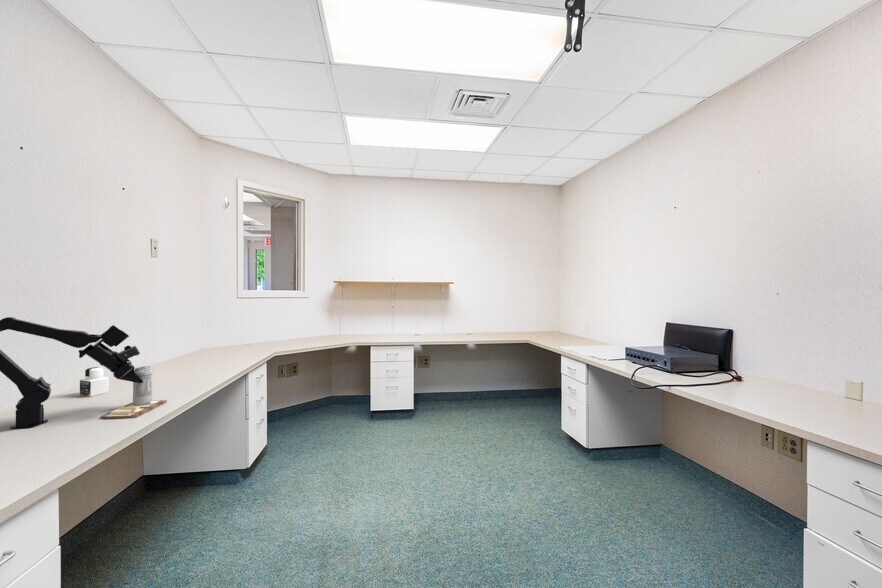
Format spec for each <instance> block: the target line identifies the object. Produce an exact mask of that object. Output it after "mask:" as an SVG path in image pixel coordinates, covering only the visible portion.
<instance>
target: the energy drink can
mask: <svg viewBox="0 0 882 588" xmlns="http://www.w3.org/2000/svg"><path fill="white" fill-rule="evenodd" d="M134 372H135V373H136V374H137V375H138V376H139V377H140V378H141V379H142V380H143V382H142V383H136V382H132V402H133V403H134V404H135V406H142V405H147V404H150V402H151V401H152V400H153V369H152V368H151V366H150V365H142V366H136V367H135V368H134Z"/></svg>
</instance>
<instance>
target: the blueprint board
mask: <svg viewBox="0 0 882 588" xmlns="http://www.w3.org/2000/svg"><path fill="white" fill-rule="evenodd" d="M166 402H167V403H168V400H167V399H160V400H159V399H156V400H155V399H152V401H151V402H150V404H147V405H142V406H135V404H134V403H133V401H132V402H129V403H127V404H125V405H123V406H121V407H117V408H116V409H113V410H112V411H109V412H107V413H105V414H102V415H100V417H99V418H100V420H104V419H103V418H112V419H121V418H120V417H137V418H139V417H141V416H142V414H143V415H145V414H146V412H147V413H149V412H151V411H153V410H155V409H157V408H158V406H159V407H160V405H161V406H162V404H163V405H165V404H166ZM164 403H165V404H164ZM156 407H157V408H156ZM154 408H155V409H154ZM152 409H153V410H152ZM150 410H151V411H150ZM148 411H149V412H148ZM144 413H145V414H144ZM140 415H141V416H140ZM138 416H139V417H138Z"/></svg>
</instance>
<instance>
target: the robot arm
mask: <svg viewBox="0 0 882 588" xmlns="http://www.w3.org/2000/svg"><path fill="white" fill-rule="evenodd" d="M6 330H10V331H15V332H19V333H23V334H28V335H33V336H37V337H41V338H42V337H43V338H45V339H46V338H47V339H50V340H55V341H58V342H60V343H62V344H63V345H64V344H65V345H67V346H70V347H73V348H76V349H79V350H78V353H79V355H78V357H79V359H81V358H83V357H84V356H87V357H90V358H91V359H92V360H93V361H95V362H97V363H98V364H99V365H100V366H102V367H105V368H106V369H107V370H109V372H111V373H113V377H114V378H116V379H117V380H120V381H121V380H122V381H127V382H132V383H133V382H136V383H142V382H143V380H142V379H141V378H140V377H139V376H138V375H137V374H136V373H135V372H134V370H135V368H136V367H135V365H133V363H132V362H131V360H130V358H133V357H135V356H138V355H140V354H141V353H140V351H139V349H138V348H137V346H135V345H133V346H130V345H126V346H124V347H123V348H124V350H121V351H120V352H117V351H116V350H115V351H114V350H112V349H111V348H112V347H118V346H119V345H120V344H121V343H123V342H124V341H125V340H127V338H130V335H129V334H128V333H126V332H125V331H123V330H122V329H120V328H119V327H117V326H116V325H114V324H111V326H109V328H108V329H107V330H105V331H103V332H102V333H101V334H97V333H96V334H90V333H88V332H87V331H83V330H75V329H63V328H56V327H53V326H48V325H43V324H40V323H35V322H30V321H26V320H22V319H18V318H16V317H11V316H7V317H4V318H2V319H0V333H2V332H3V331H6ZM92 343H94V344H92ZM103 343H104V344H103ZM106 345H107V346H106ZM108 346H109V347H108ZM82 348H84V349H82ZM0 372H1V373H2V374H3V375H4V376H5V377H6V378H7V379H8V380H10V381H11V382H12V383H13V384H15V386H16V387H17V389H18V391H19V393H20V394H21V396H22V397H21V398H20V399H19V400H18V401H17V403H16V405H15V408H16V409H15V425H12V426H10V429H30V428H34V427H36V426H39V425H42V424H45V423H47V422H49V420H48V419H45V417H44V416H45V412H44V411H45V409H44V404H42V403H44V402H46V401H47V400H48V399H49V397H50V395H51V392H52V389H51V384H50V383H48V382H47V381H45V379H44V378H43V376H40V377H39V378H35V377H33V376H31V375H30V374H29V373H28V372H26V371H25V370H24V369H23V368H21V367H20V366H19V365H18V363H16V362H15V361H14V360H13V359H11V357H10V356H8V355H7V354H6V353H5V352H4V351H3V350H1V349H0Z"/></svg>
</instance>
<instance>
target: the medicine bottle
mask: <svg viewBox="0 0 882 588" xmlns="http://www.w3.org/2000/svg"><path fill="white" fill-rule="evenodd" d="M84 373H85V375H84V376H85V377H84V378H83V379H80V380H79V396H80V395H82V396H83V397H88V396H89V397H88V398H91V396H92V397H96V395H97V396H101V395H104V394H105V393H106V394H108V393H109V392H110V391H109V389H110V387H109V386H110V385H109V384H110V383H109V381H110V379H109V377H108V376H107V377H106V376H104V375H105V374H104V368H103V367H101V366H96V367H88V368H86V369H85V370H84ZM100 394H101V395H100ZM82 396H81V397H82Z"/></svg>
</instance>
